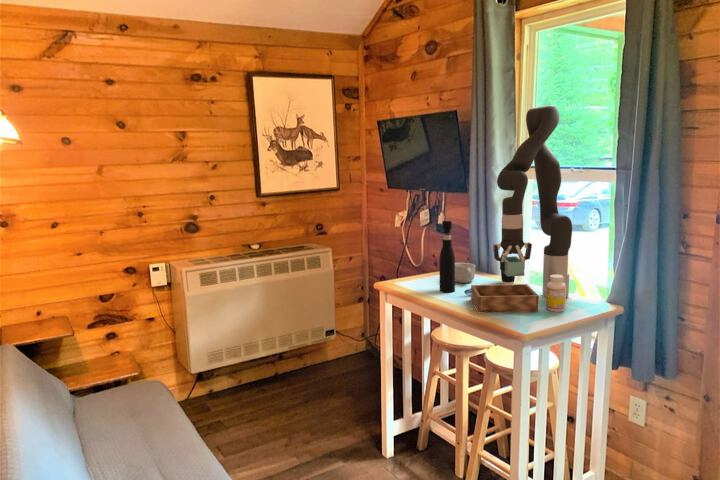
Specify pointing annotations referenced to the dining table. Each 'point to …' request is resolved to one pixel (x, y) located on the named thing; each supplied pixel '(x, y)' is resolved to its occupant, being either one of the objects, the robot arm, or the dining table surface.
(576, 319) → the dining table surface
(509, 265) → the teal tote
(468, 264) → the teacup
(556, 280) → the supplement bottle
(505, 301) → the walnut crate
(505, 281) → the dixie cup
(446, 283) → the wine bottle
